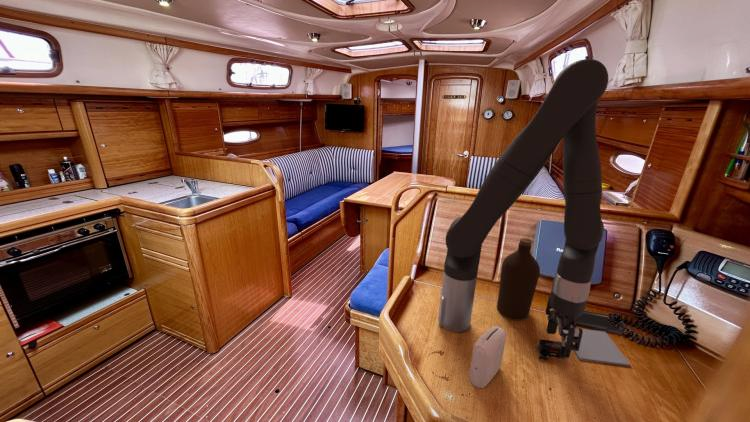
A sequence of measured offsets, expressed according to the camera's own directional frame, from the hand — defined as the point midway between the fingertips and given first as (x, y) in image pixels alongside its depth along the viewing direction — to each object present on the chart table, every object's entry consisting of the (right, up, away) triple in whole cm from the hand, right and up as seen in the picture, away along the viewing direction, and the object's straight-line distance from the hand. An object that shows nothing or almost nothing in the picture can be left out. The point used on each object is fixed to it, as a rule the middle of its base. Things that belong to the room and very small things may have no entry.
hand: (557, 344), depth 79 cm
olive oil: (-4, +3, +18) cm, 18 cm away
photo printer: (-21, -5, -5) cm, 22 cm away
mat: (+12, -2, +4) cm, 13 cm away
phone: (+20, +1, +13) cm, 24 cm away
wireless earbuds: (-2, -3, +1) cm, 4 cm away
